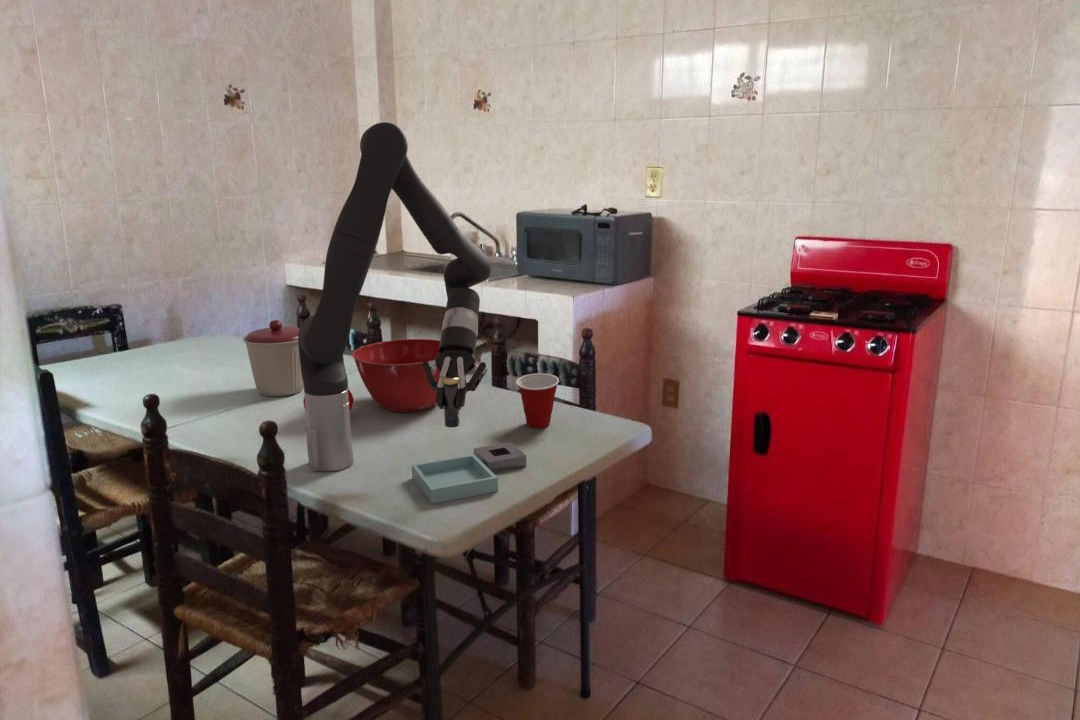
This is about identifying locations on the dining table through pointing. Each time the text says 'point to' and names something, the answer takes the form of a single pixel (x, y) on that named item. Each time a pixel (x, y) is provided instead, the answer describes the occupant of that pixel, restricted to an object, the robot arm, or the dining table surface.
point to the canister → (275, 359)
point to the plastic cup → (538, 398)
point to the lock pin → (451, 400)
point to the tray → (454, 478)
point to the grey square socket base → (501, 457)
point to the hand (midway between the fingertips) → (449, 407)
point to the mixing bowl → (399, 373)
